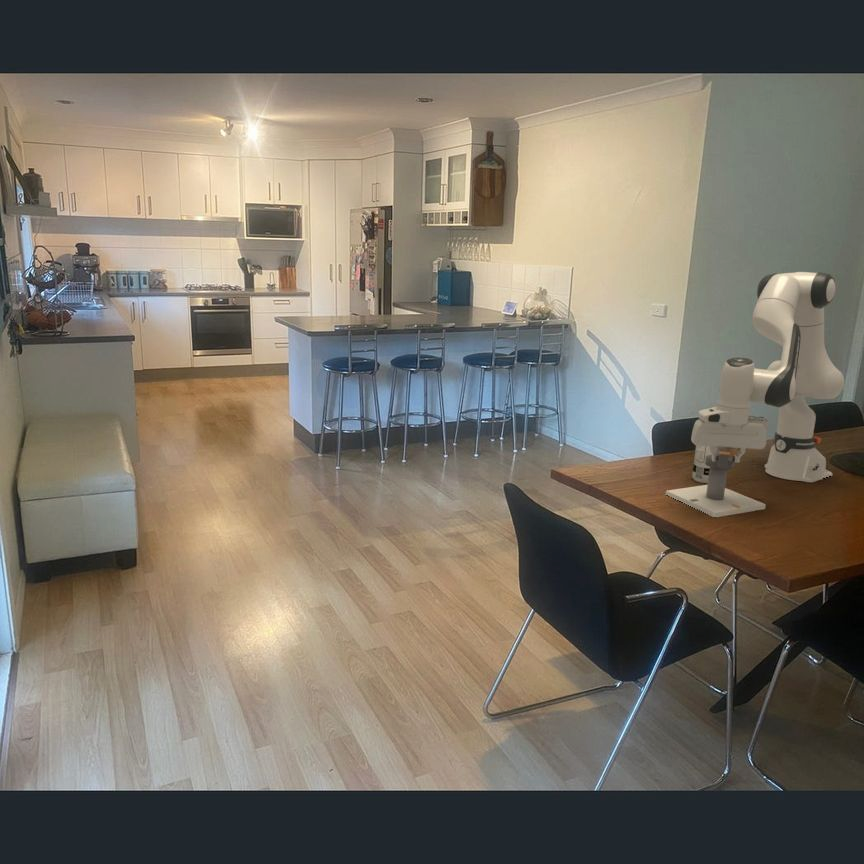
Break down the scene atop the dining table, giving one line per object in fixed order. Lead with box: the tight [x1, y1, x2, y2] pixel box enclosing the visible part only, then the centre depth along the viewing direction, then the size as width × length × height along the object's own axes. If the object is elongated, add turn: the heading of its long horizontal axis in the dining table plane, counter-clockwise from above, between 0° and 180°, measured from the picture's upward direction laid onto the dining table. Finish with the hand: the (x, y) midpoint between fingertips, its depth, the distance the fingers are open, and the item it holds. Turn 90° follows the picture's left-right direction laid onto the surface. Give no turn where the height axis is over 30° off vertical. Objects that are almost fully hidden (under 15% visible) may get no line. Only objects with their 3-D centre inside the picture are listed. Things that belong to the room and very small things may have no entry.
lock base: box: [665, 467, 767, 518], centre depth 212 cm, size 20×20×12 cm
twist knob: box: [705, 447, 735, 470], centre depth 206 cm, size 14×8×7 cm, turn 162°
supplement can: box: [691, 445, 717, 485], centre depth 232 cm, size 8×8×15 cm
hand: (725, 461), depth 203 cm, fingers open, 4 cm apart
